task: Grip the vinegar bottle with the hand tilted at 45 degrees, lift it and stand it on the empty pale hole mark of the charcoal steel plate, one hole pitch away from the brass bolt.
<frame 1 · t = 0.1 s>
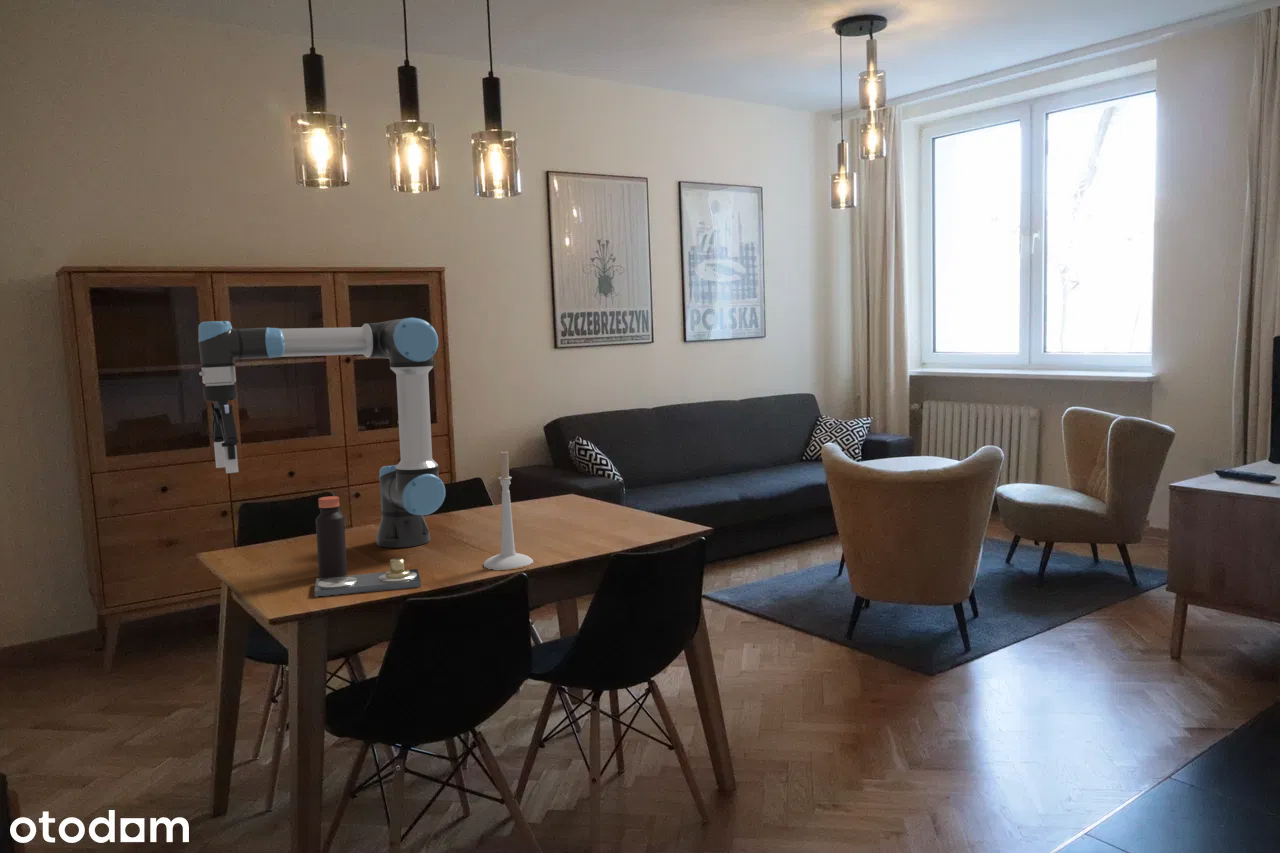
hand: (227, 470, 230), 28 cm above the table, tool pointing down, fingers open, 13 cm apart
vinegar: (333, 576, 234), on the table
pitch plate: (368, 585, 224), on the table
candlestick: (508, 565, 242), on the table
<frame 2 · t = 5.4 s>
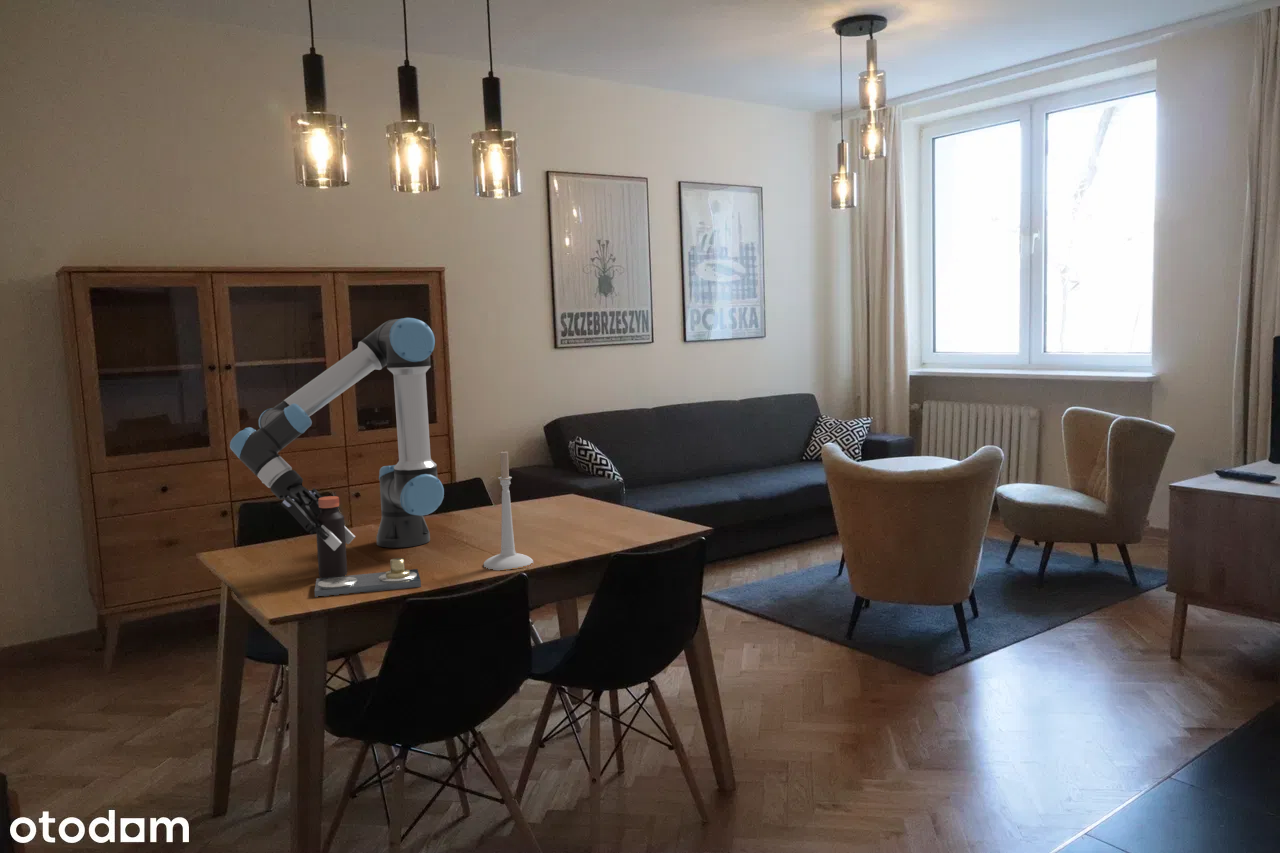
hand: (344, 543, 233), 8 cm above the table, tool tilted 45°, fingers closed on vinegar, 6 cm apart
vinegar: (333, 576, 234), on the table, touching gripper
everything else where it was.
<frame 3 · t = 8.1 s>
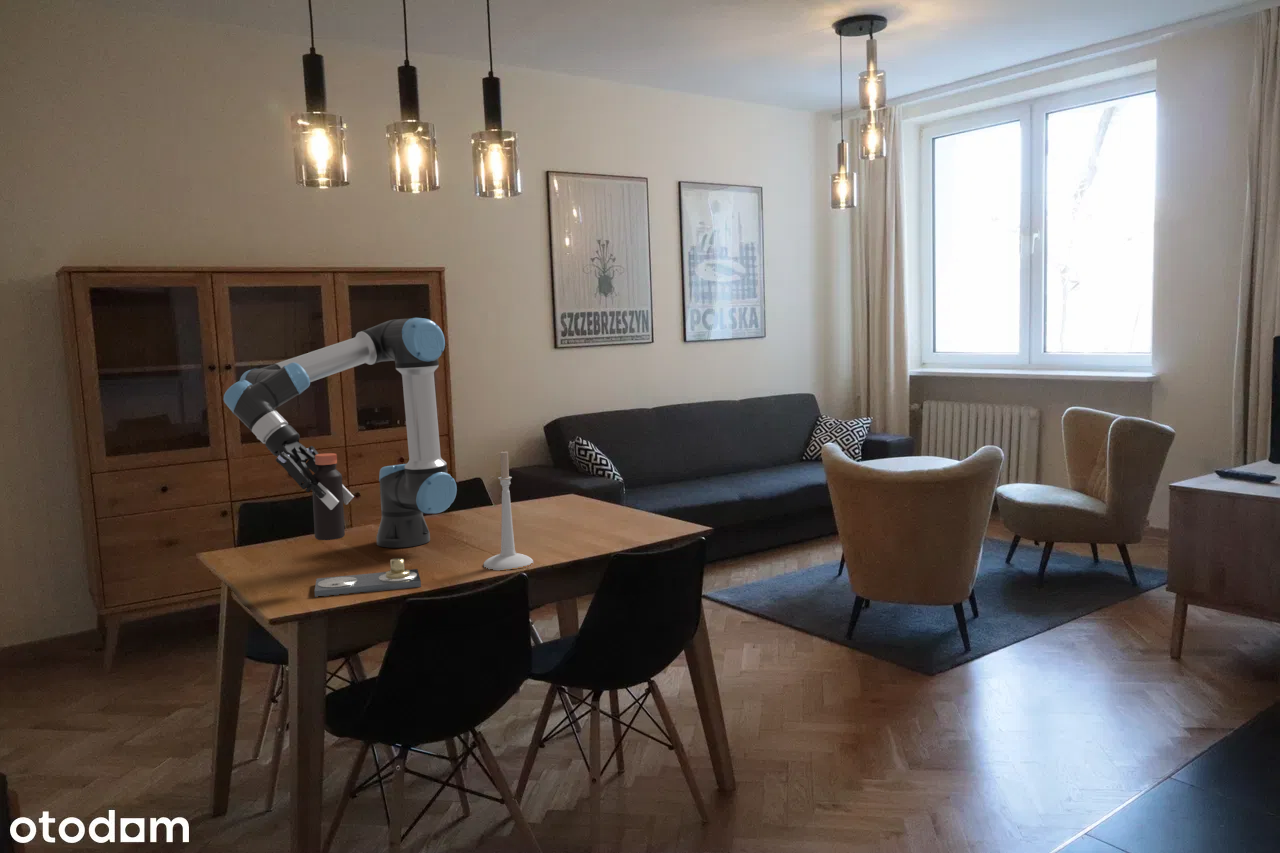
hand: (342, 503, 220), 21 cm above the table, tool tilted 45°, fingers closed on vinegar, 6 cm apart
vinegar: (330, 538, 222), point 12 cm above the table, touching gripper
everything else where it was.
when the fingers open (12 cm above the table, at t = 10.7 s): vinegar drops 1 cm, resting on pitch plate.
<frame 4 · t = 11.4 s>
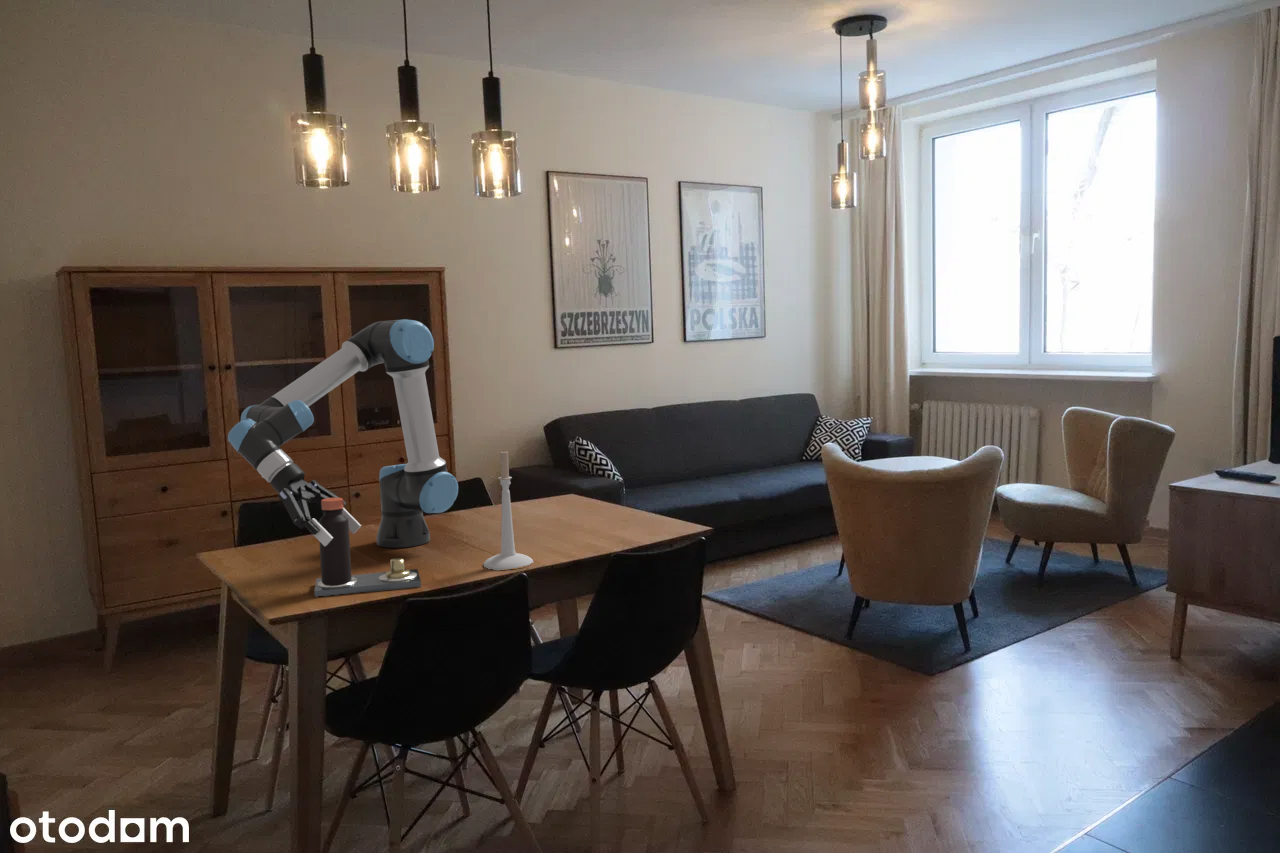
hand: (343, 535, 220), 13 cm above the table, tool tilted 45°, fingers open, 13 cm apart
vinegar: (336, 582, 222), point 2 cm above the table, touching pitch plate
everything else where it was.
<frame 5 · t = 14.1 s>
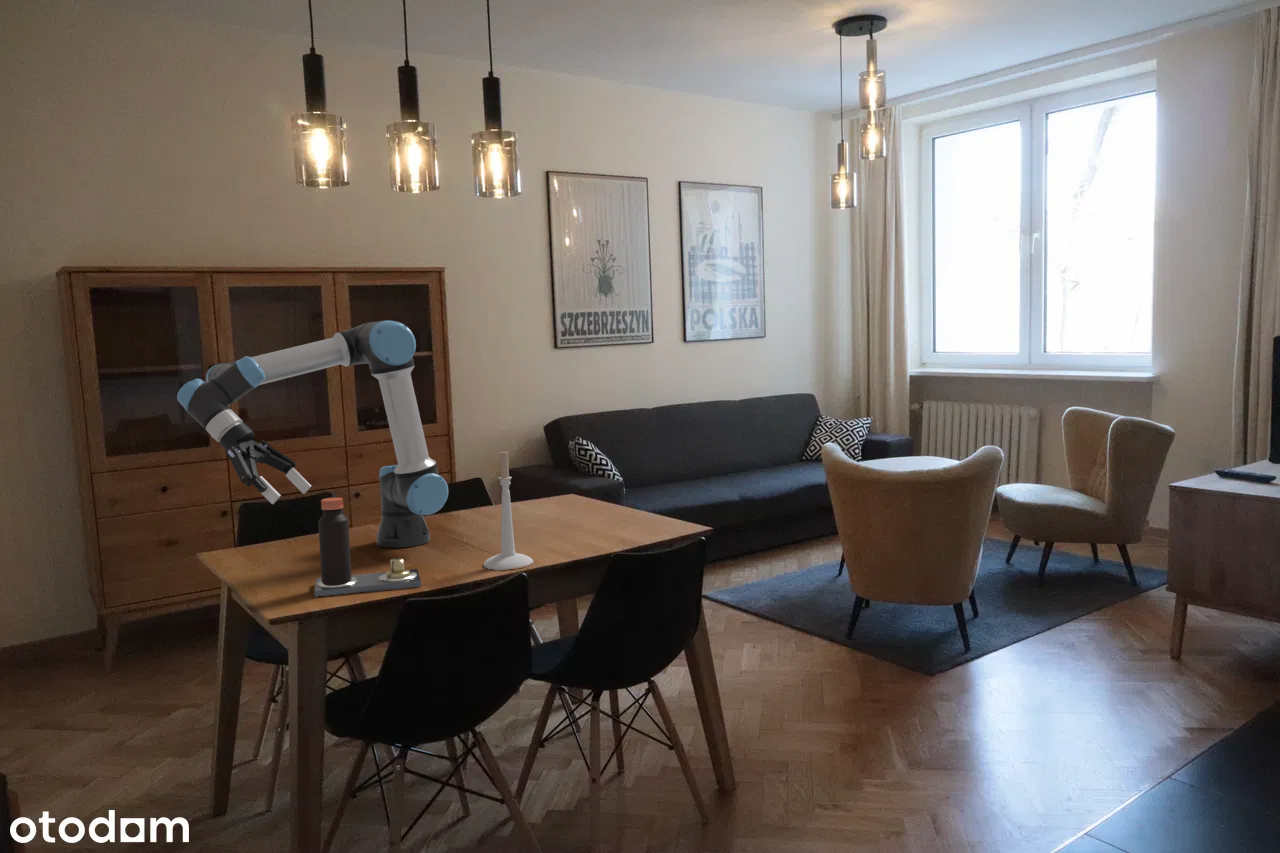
hand: (292, 495, 222), 23 cm above the table, tool tilted 45°, fingers open, 13 cm apart
nothing on the table moved.
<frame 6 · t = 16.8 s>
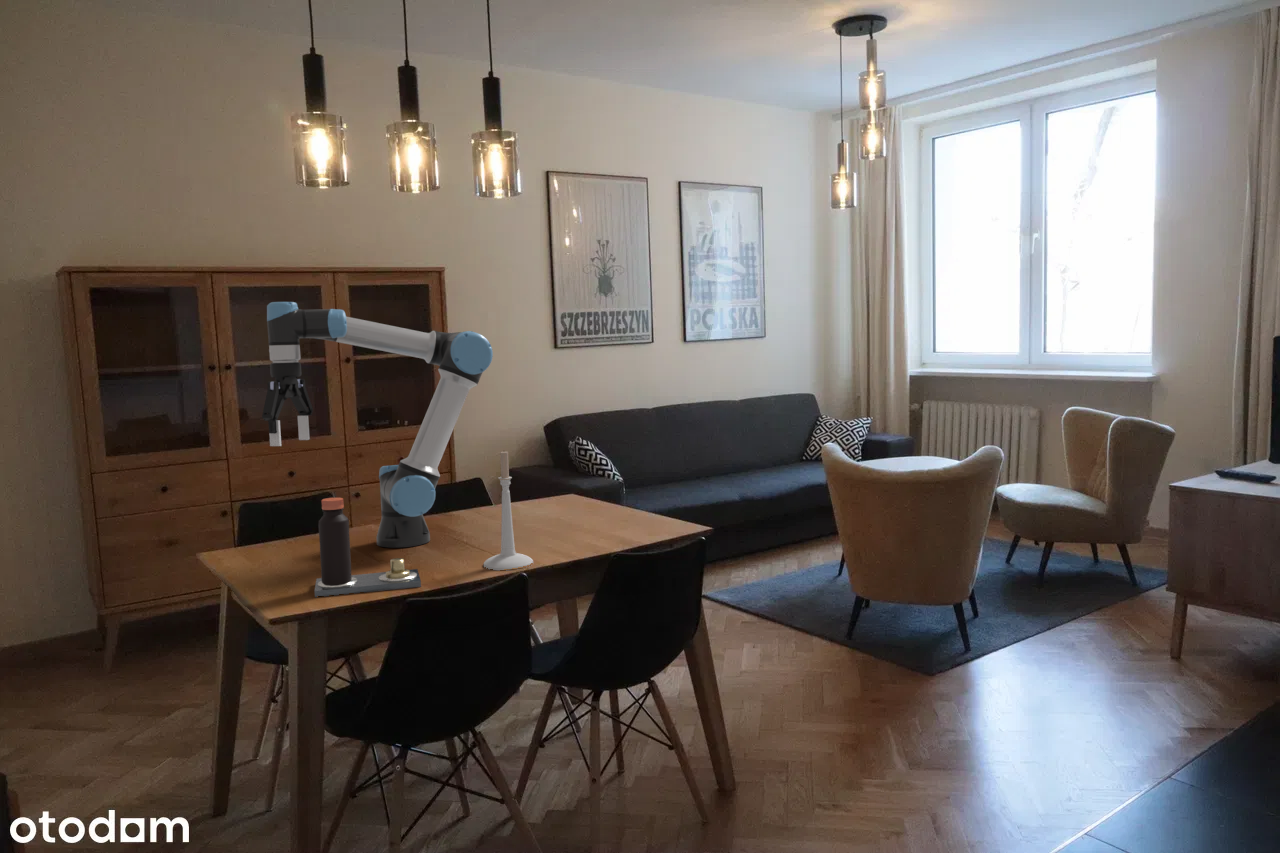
hand: (290, 443, 244), 33 cm above the table, tool pointing down, fingers open, 13 cm apart
nothing on the table moved.
at the end: vinegar 0.4 cm from the target spot on the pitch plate, point 1.5 cm above the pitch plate's base; vinegar tilted 0°; the gripper is holding nothing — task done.
